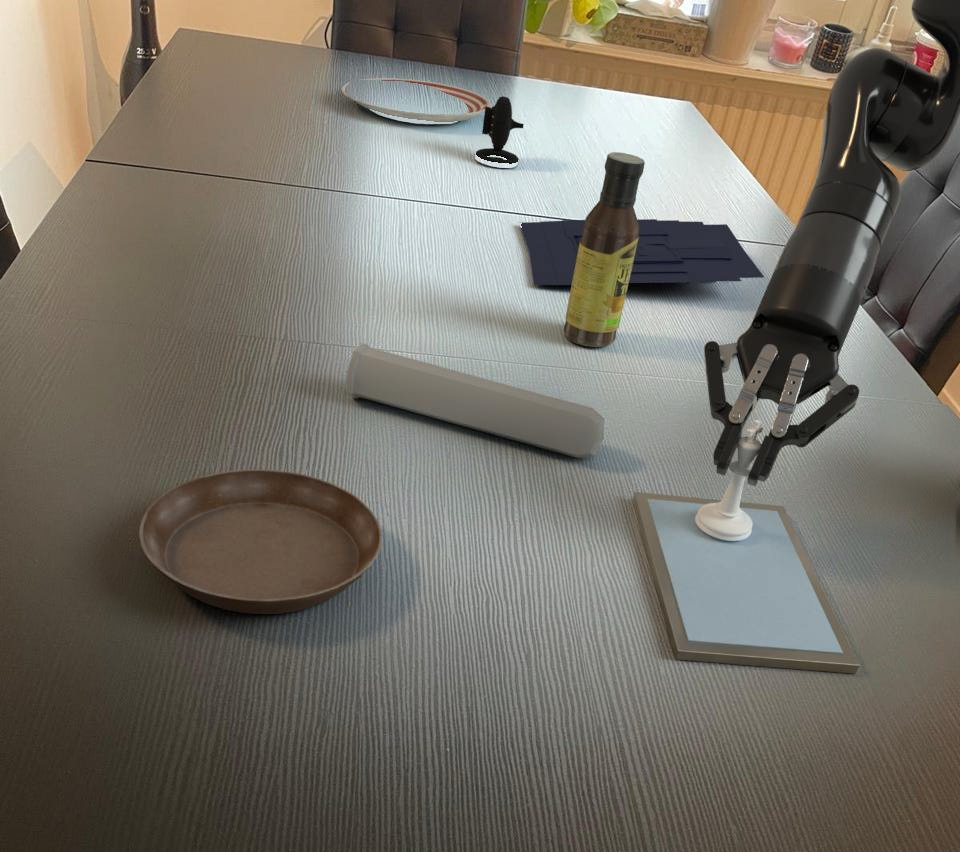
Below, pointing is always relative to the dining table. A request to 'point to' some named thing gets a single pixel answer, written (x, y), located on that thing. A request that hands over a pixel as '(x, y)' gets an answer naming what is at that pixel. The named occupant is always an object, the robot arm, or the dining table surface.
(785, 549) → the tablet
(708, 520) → the chess piece
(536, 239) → the papers
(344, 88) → the dinner plate
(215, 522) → the plant saucer
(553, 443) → the tube
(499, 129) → the webcam
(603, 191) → the sauce bottle
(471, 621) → the dining table surface
